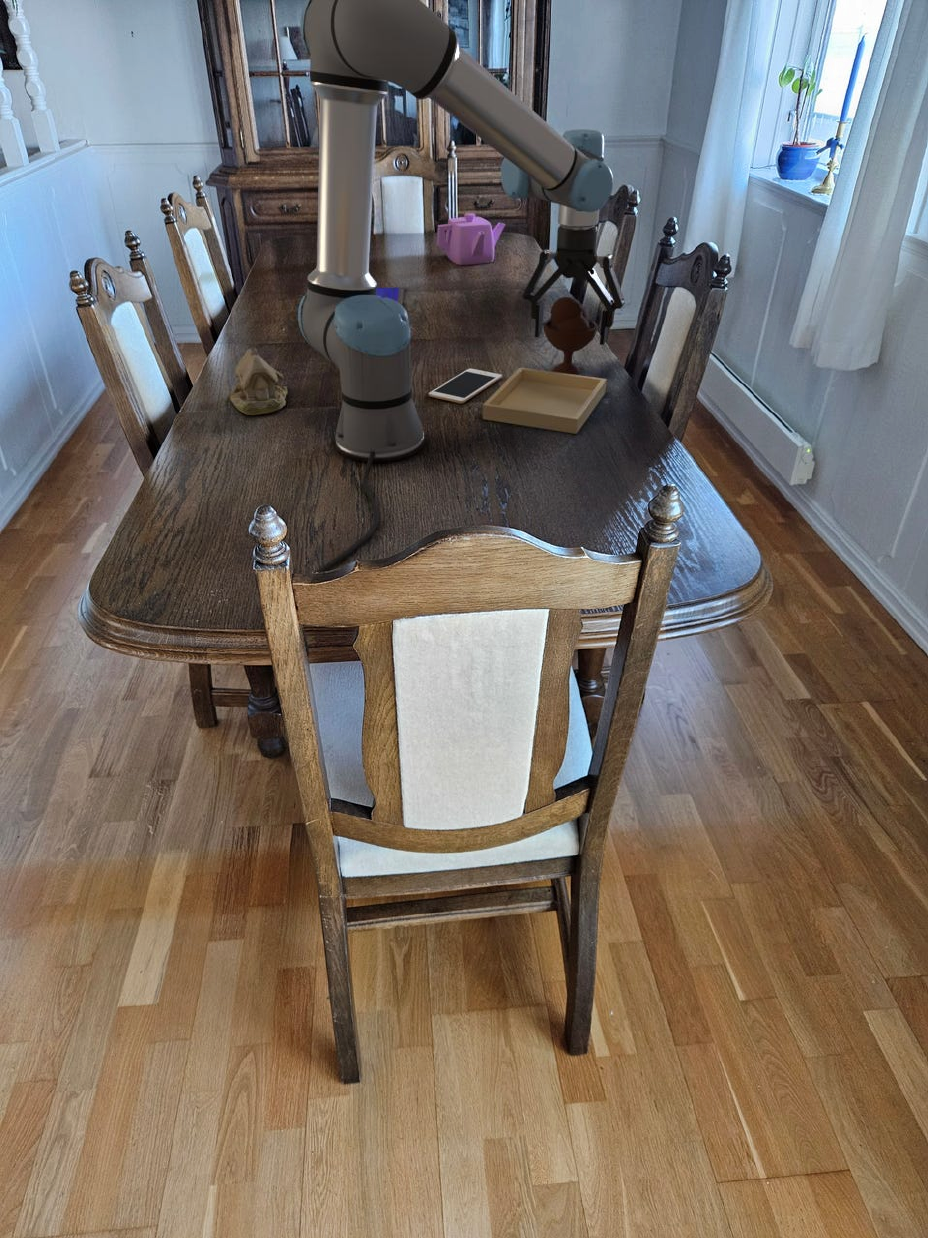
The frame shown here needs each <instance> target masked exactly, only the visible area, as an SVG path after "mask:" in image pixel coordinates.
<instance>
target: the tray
mask: <svg viewBox="0 0 928 1238" xmlns="http://www.w3.org/2000/svg"><path fill="white" fill-rule="evenodd" d="M607 380H608V378H602V377H595V376H586V375H580V374H579V375H578V374H576V375H573V374H565V373H558V372H555V371H550V370H543V369H535V368H530V367H529V368H527V367H521V366H520V367H519V368H517V369H516V371H514V373H513V374H511V376H510V377H508V378H507V380H506V381H505V382H503V384H502V385H501V386H500V387H498V389H497V390H496V391H495V392H494V393H493V394H492V395H491V396H490V397H489V398H487V400H486V401H485V402H484V403H483V404H482V420H487V421H492V422H499V423H503V424H504V423H505V424H511V425H518V426H523V427H524V426H525V427H530V428H537V429H542V430H549V431H555V432H562V433H567V434H568V433H569V434H575V435H576V434H577V435H578V432H579V431H580V430H581V428H582V427H583V425H584V424H585V423H586V421H587V420H588V418H589V417H590V415H591V414H592V413H593V411H594V410H595V408H596V407H597V405H598V404H599V402H601V400H602V398H604V396H605V394H606V390H607V382H608V381H607Z"/></svg>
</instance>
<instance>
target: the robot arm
mask: <svg viewBox="0 0 928 1238" xmlns="http://www.w3.org/2000/svg"><path fill="white" fill-rule="evenodd" d="M299 28H300V29H299V31H300V37H301V40H302V44H303V47H304V49H305V51H306V53H307V55H308V57H309V58H310V59H309V60H310V61H309V66H310V67H309V77H310V78H309V85H310V86H311V87H312V89H313V90H314V91H315V93H316V94H317V96H318V97H319V138H318V139H319V143H318V188H317V195H318V197H317V244H316V246H317V248H316V254H317V255H316V268H314V270H312V271H311V272H310V273H309V274H308V275H307V282H306V283H307V287H306V293H305V295H303V296H302V298H301V300H300V302H299V305H298V309H297V321H298V327H299V330H300V332H301V334H302V336H303V338H304V339H305V341H306V342H307V343H308V344H309V346H310V347H311V349H313V350H314V351H315V352H316V353H317V354H318V355H319V356H321V357H323V358H325V359H326V360H327V361H328V362H330V363H331V364H333V365H334V366H335V367H336V368H338V370H339V379H340V388H341V397H342V398H341V399H342V400H341V401H342V404H341V409H340V411H339V412H340V413H339V417H338V422H337V425H336V429H335V435H334V438H335V447H336V450H337V452H338V453H339V454H340V455H342V456H344V457H346V458H348V459H350V460H354V461H357V462H362V463H366V467H365V470H364V473H363V475H362V488H363V490H364V493H365V494H366V496H367V497H368V499H369V500H370V503H371V507H372V511H373V522H372V525H371V527H370V528H369V529H368V531H367V532H366V533H365V534H364V535H363V536H362V537H361V538H359V539H358V540H357V541H356V542H355V543H354V544H352V545H351V546H349V548H347V549H346V550H345V551H343V552H342V553H340V554H339V555H338V556H336V557H334V558H333V559H331V560H329V561H328V562H327V563H325V564H324V565H322V566H321V567H320V568H318V569H317V570H318V571H317V570H315V571H314V572H313V573H316V572H323V571H325V572H327V571H328V570H330V569H331V568H333V567H334V566H336V565H337V564H339V563H340V562H342V561H344V560H345V559H347V558H348V557H349V556H350V555H352V554H353V553H354V552H355V551H357V550H358V549H359V548H360V547H362V546H363V545H364V544H365V543H366V542H368V541H369V540H370V538H371V537H373V535H374V534H375V532H376V531H377V529H378V527H379V524H380V517H381V516H380V510H379V507H378V503H377V500H376V497H375V496H374V494H373V492H372V491H371V489H370V488H369V483H368V481H369V480H368V479H369V477H370V472H371V470H372V466H373V464H375V463H377V464H379V463H380V464H381V463H391V462H397V461H400V460H405V459H408V458H410V457H412V456H414V455H417V454H418V453H419V452H420V451H422V449H423V448H424V446H425V431H424V426H423V424H422V422H421V419H420V417H419V413H418V411H417V409H416V406H415V403H414V400H413V391H412V389H413V387H412V384H413V383H412V358H411V357H412V356H411V335H412V334H411V333H412V332H411V327H410V322H409V315H408V312H407V310H406V308H405V307H404V306H403V304H402V305H401V304H399V303H398V302H396V301H394V300H392V299H390V298H387V297H385V298H381V297H380V296H377V288H378V282H377V281H376V280H375V279H374V278H373V276H372V275H371V273H370V270H369V269H370V254H371V253H370V251H371V233H372V215H373V214H372V213H373V195H374V194H373V192H374V173H375V156H376V155H375V154H376V137H377V135H376V133H377V116H378V106H379V104H380V103H381V102H382V101H383V100H384V99H385V98H386V97H387V96H388V93H389V83H392V84H394V85H396V86H397V87H400V88H401V89H403V90H405V91H406V92H408V93H409V94H410V95H412V96H413V97H414V98H415V99H417V100H420V101H421V100H422V101H423V100H426V99H430V100H431V101H432V102H433V103H435V104H436V105H437V106H439V107H440V108H441V109H442V110H444V111H445V112H446V113H447V114H448V115H450V116H451V117H453V118H454V119H455V120H457V121H458V122H459V123H460V124H462V125H463V126H464V127H465V128H467V129H468V130H469V131H470V132H472V133H473V134H474V135H475V136H476V137H478V138H479V139H481V140H482V141H483V142H484V143H486V144H487V145H488V146H490V147H491V148H492V149H494V150H495V151H496V152H497V153H499V155H501V156H503V160H502V163H501V166H500V183H501V186H502V189H503V191H504V193H505V195H506V196H507V197H508V198H510V199H513V200H517V199H520V200H521V199H522V200H527V199H529V198H535V199H539V200H542V201H544V202H545V201H546V202H549V203H552V204H556V205H558V212H557V213H558V214H557V223H558V224H559V226H558V227H557V233H556V250H555V251H550V249H548V248H545V249H543V250H542V251H541V252H540V253H539V259H538V263H537V266H536V268H535V269H534V272H533V274H532V276H531V278H530V280H529V281H528V284H527V285H526V287H525V289H524V292H523V293H522V298H523V300H528V301H529V302H530V304H531V306H530V307H531V308H530V317H531V319H532V320H535V322H534V323H535V324H534V326H535V327H534V338H540V336H542V335H543V329H544V328H543V323H544V305H545V304H544V303H545V301H544V300H541V299H542V297H543V296H545V294H546V293H547V292H548V291H549V289H551V287H552V286H553V285H554V284H555V283H556V282H557V281H558V280H559V278H561V276H564V278H565V279H576V280H582V279H585V281H586V282H587V283H588V284H589V285H590V287H591V288H592V290H593V291H594V293H595V294H596V295H597V297H598V299H599V300H600V302H601V303H602V305H603V306H604V309H603V310H602V314H601V326H600V338H599V345H602V346H604V345H605V344H606V343H607V342H608V333H609V332H608V331H609V328H612V327H613V325H614V322H615V313H616V312H615V311H616V310H620V309H622V308H623V307H624V306H625V304H626V300H625V298H624V294H623V292H622V289H621V287H620V286H621V285H620V283H619V280H618V278H617V275H616V272H615V269H614V266H613V255H612V254H611V253H607V254H606V255H598V254H597V243H598V232H599V229H598V226H596V225H598V224H599V219H600V218H599V217H600V216H599V215H600V210H601V209H602V208H603V207H604V206H605V205H606V204H607V203H608V201H609V199H610V197H611V195H612V191H613V189H614V176H613V173H612V170H611V168H610V167H609V165H607V164H606V163H605V162H604V161H605V137H604V134H603V132H601V131H600V130H596V129H585V128H584V129H570V130H566V131H564V132H563V134H560V133H559V132H558V131H557V130H556V129H555V128H553V127H552V125H550V124H549V123H548V122H547V121H545V120H544V119H543V118H542V117H541V116H540V115H539V114H538V113H537V112H535V110H533V109H532V108H531V107H530V106H529V105H527V104H526V103H525V102H524V101H522V99H520V97H518V96H517V95H516V94H515V93H514V92H513V91H511V90H510V89H509V88H508V87H507V86H505V84H503V82H501V81H500V80H499V79H497V77H495V76H494V75H493V74H492V73H491V72H490V71H488V69H486V68H485V67H484V66H483V65H481V64H480V62H479V61H477V60H476V59H474V58H473V56H471V55H470V54H469V53H468V52H466V50H464V49H463V48H462V47H461V46H459V39H458V38H459V37H458V34H457V32H456V31H455V30H454V29H453V28H452V27H451V26H449V24H447V23H446V22H445V21H444V20H443V19H442V18H441V17H440V16H439V15H437V14H436V13H435V12H434V10H432V9H431V8H430V7H428V6H427V5H426V4H425V3H424V2H423V1H422V0H304V3H303V6H302V9H301V13H300V21H299ZM552 261H554V263H555V265H556V266H557V268H556V270H555V271H554V272H553V273H552V275H550V277H549V278H547V280H546V281H545V283H543V285H542V286H541V287H540V288H539V289H538V290H537V292H536V293H534V291H535V289H536V288H537V285H538V283H539V281H540V279H541V277H542V275H543V274H544V272H545V269H546V268H547V266H548V264H550V263H551V262H552ZM597 264H599V267H600V268H601V269H602V270H603V271H602V272H603V274H604V277H605V280H606V282H607V286H608V289H609V291H610V293H611V294H610V293H609V291H608V290H607V288H606V286H605V285H604V283H603V282H602V281H601V279H600V278H599V276H598V273H597V271H596V269H594V268H595V266H596V265H597ZM302 631H303V635H304V641H305V647H306V652H307V656H306V657H308V656H310V649H309V644H308V639H307V636H306V634H305V633H306V632H305V631H304V629H303V628H302Z"/></svg>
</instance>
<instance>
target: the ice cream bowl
mask: <svg viewBox="0 0 928 1238" xmlns="http://www.w3.org/2000/svg"><path fill="white" fill-rule="evenodd" d="M598 328H599V325H598V324H597V323H596V321H595V320H592V319H590V315H589V311H588V309H587V308H586V307H585V306H584V305H583V304H582V303H581V302H580V301H579V299H576V298H575V297H574V296H562V297H559V298H558V299H557V300H556V301H555V302H553V305H552V306H551V308H550V318H548V319H547V320H545V321H543V328H542V329H543V332H544V335H545V337H546V339H547V340H548V342H549V343H550V344H551V346H552V347H554V349H556V350H558V351H561V352H563V362H561V363H558V364H557V365H556V366H554V368H553V372H558V373H565V374H573V375H578V374H580V373H581V368H580V367H579V365H577V364H575V363H574V362H573V355H574V354H575V352H579V351H580V350H583V349H584V348H586V346H587V345H589V344H590V343H591V342H593V340H594V338H595V337H596V335H597V333H598Z"/></svg>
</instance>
